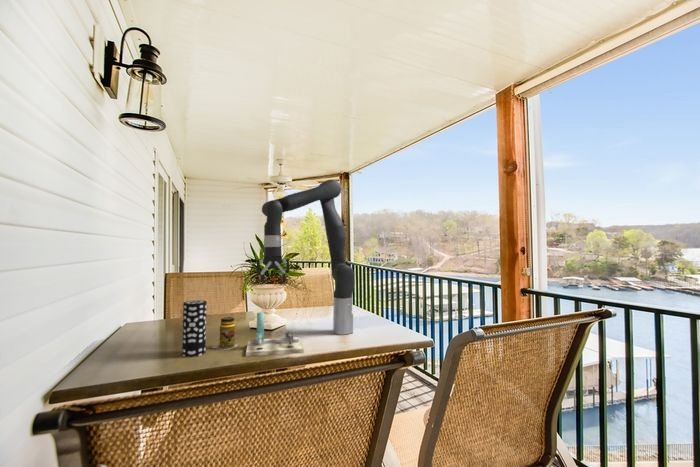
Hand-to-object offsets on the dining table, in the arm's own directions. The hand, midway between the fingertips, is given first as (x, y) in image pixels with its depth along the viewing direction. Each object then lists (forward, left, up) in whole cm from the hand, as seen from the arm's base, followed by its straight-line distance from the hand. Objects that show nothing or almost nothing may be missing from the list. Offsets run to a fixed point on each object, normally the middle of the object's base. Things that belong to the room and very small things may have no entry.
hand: (273, 282), depth 148 cm
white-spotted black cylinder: (+30, +8, -26) cm, 41 cm away
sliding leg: (+5, +8, -24) cm, 25 cm away
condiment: (+19, +1, -27) cm, 33 cm away
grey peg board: (-1, +9, -26) cm, 28 cm away
